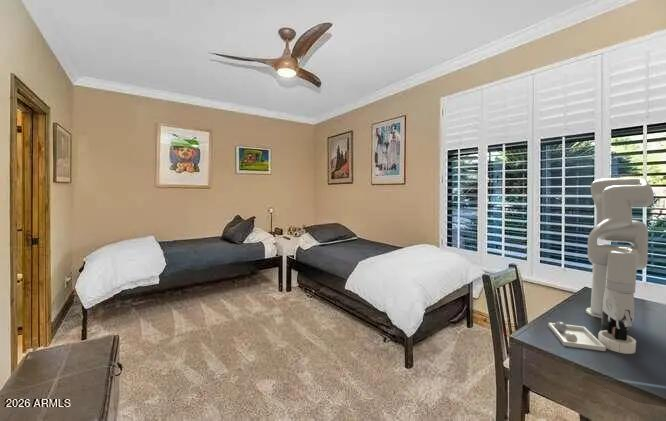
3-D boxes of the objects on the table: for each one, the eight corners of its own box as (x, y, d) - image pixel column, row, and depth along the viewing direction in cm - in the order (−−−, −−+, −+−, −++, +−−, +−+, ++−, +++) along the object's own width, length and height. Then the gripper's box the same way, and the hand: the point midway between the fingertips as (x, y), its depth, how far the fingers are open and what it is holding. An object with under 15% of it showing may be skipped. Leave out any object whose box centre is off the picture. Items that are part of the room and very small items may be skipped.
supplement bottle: (627, 341, 112) (629, 309, 111) (602, 336, 116) (604, 305, 115) (622, 333, 118) (624, 303, 117) (598, 329, 122) (600, 300, 121)
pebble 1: (554, 329, 121) (554, 320, 121) (564, 330, 120) (565, 321, 120) (557, 333, 118) (557, 324, 117) (568, 334, 117) (569, 325, 116)
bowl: (593, 339, 114) (593, 328, 114) (625, 343, 111) (625, 332, 111) (606, 352, 105) (607, 341, 105) (642, 357, 102) (642, 345, 102)
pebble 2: (563, 339, 113) (564, 330, 112) (574, 341, 112) (575, 332, 111) (567, 344, 110) (567, 335, 109) (578, 345, 108) (579, 336, 108)
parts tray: (548, 327, 124) (548, 322, 124) (584, 331, 120) (584, 326, 120) (564, 347, 109) (564, 341, 108) (605, 352, 105) (605, 347, 105)
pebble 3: (616, 339, 106) (616, 329, 106) (610, 334, 110) (611, 325, 109) (629, 341, 105) (629, 331, 105) (622, 336, 109) (623, 326, 108)
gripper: (595, 278, 115) (592, 325, 117) (620, 292, 99) (616, 346, 101) (620, 279, 113) (616, 327, 114) (649, 295, 97) (645, 350, 99)
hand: (616, 336), depth 108 cm, fingers closed on pebble 3, 3 cm apart
